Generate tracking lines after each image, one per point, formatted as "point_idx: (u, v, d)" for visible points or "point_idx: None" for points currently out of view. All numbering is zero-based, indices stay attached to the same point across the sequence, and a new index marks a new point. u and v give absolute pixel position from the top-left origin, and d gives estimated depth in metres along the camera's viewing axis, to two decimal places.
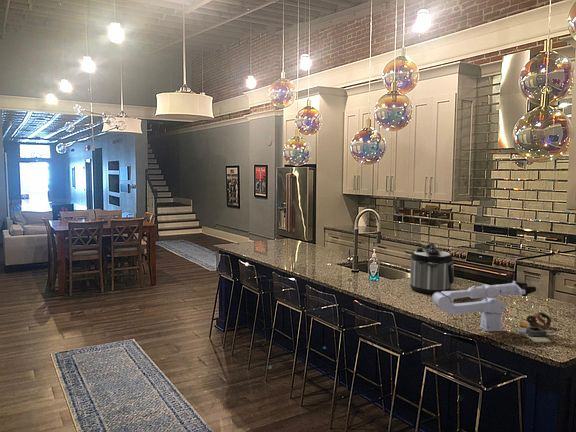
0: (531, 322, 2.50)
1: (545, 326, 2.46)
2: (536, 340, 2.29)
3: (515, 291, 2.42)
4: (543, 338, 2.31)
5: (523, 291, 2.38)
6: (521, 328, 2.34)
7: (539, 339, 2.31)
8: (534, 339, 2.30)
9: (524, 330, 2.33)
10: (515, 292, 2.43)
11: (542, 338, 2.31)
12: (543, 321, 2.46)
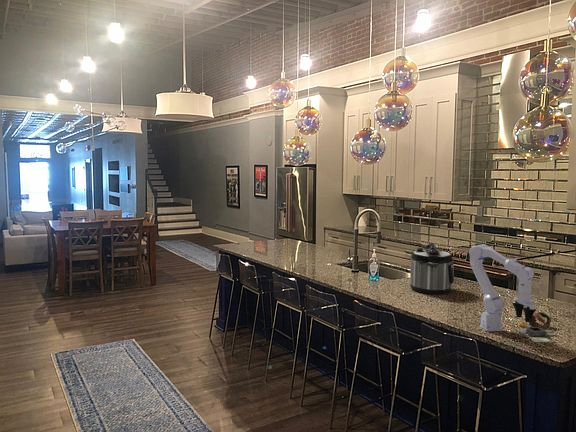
0: (531, 322, 2.50)
1: (545, 326, 2.46)
2: (536, 340, 2.29)
3: (526, 301, 2.31)
4: (543, 338, 2.31)
5: (533, 307, 2.26)
6: (521, 328, 2.34)
7: (539, 339, 2.31)
8: (534, 339, 2.30)
9: (524, 330, 2.33)
10: (524, 301, 2.31)
11: (542, 338, 2.31)
12: (543, 321, 2.46)
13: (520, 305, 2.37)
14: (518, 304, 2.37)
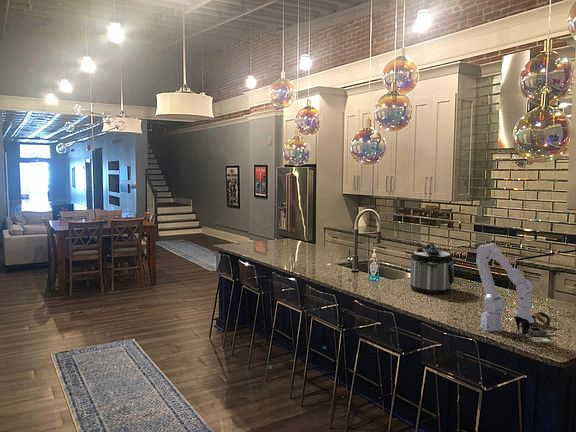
0: None
1: (544, 325, 2.47)
2: (536, 340, 2.29)
3: (525, 314, 2.31)
4: (543, 338, 2.31)
5: (532, 321, 2.27)
6: (521, 328, 2.34)
7: (539, 339, 2.31)
8: (534, 339, 2.30)
9: None
10: (524, 314, 2.31)
11: (542, 338, 2.31)
12: (542, 320, 2.47)
13: (521, 319, 2.36)
14: (519, 318, 2.36)
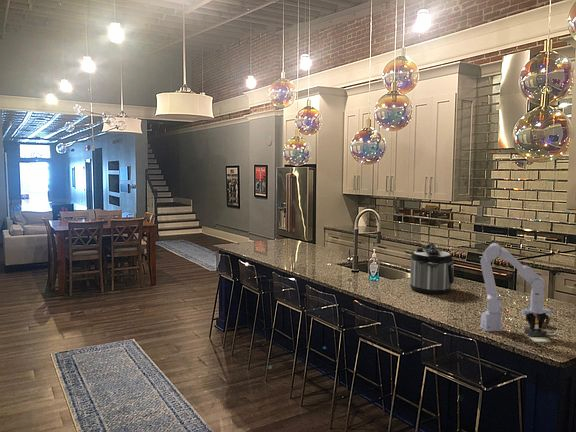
0: None
1: (544, 325, 2.48)
2: (536, 340, 2.29)
3: (530, 308, 2.36)
4: (543, 338, 2.31)
5: (522, 312, 2.35)
6: None
7: (539, 339, 2.31)
8: (534, 339, 2.30)
9: None
10: (530, 308, 2.37)
11: (542, 338, 2.31)
12: None
13: (540, 316, 2.36)
14: (538, 314, 2.37)
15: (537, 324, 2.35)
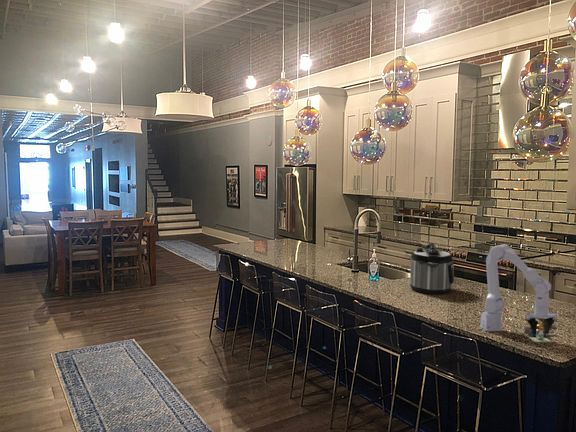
0: None
1: (543, 324, 2.49)
2: (536, 340, 2.29)
3: (535, 312, 2.29)
4: (543, 338, 2.31)
5: (527, 317, 2.28)
6: None
7: None
8: (534, 339, 2.30)
9: (536, 331, 2.30)
10: None
11: None
12: (541, 319, 2.49)
13: (547, 321, 2.29)
14: (546, 319, 2.30)
15: (541, 330, 2.28)
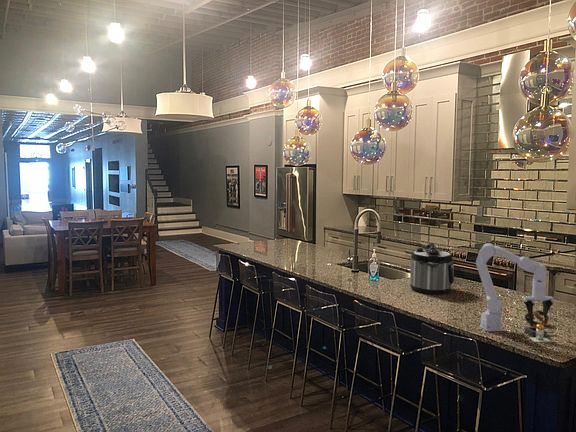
0: (529, 320, 2.53)
1: (543, 323, 2.50)
2: (536, 340, 2.29)
3: (532, 295, 2.36)
4: (543, 338, 2.31)
5: (524, 299, 2.35)
6: None
7: None
8: (534, 339, 2.30)
9: (536, 331, 2.30)
10: (532, 295, 2.37)
11: None
12: (541, 319, 2.50)
13: (545, 303, 2.36)
14: (544, 301, 2.37)
15: (541, 330, 2.28)
